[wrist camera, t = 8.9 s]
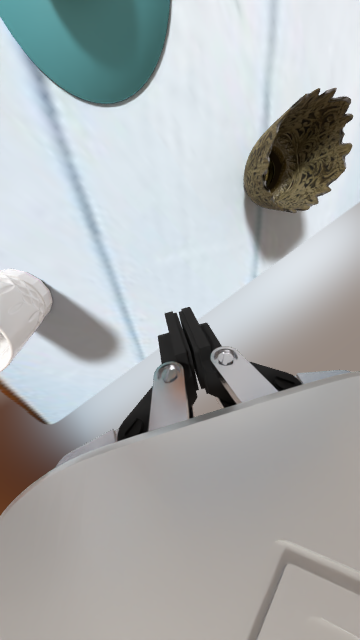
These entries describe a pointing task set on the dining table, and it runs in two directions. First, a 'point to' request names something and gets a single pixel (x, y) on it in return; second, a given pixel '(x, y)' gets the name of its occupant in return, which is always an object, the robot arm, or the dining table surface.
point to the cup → (299, 154)
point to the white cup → (20, 311)
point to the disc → (91, 42)
